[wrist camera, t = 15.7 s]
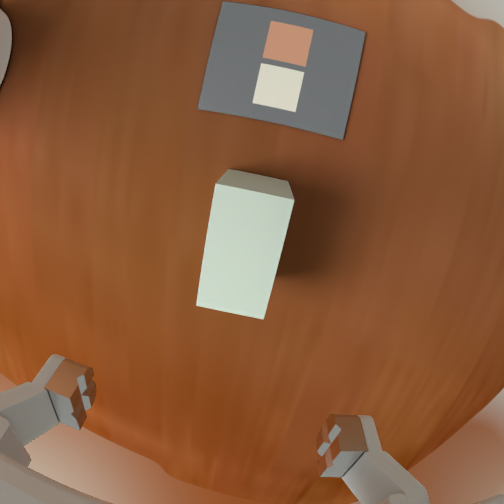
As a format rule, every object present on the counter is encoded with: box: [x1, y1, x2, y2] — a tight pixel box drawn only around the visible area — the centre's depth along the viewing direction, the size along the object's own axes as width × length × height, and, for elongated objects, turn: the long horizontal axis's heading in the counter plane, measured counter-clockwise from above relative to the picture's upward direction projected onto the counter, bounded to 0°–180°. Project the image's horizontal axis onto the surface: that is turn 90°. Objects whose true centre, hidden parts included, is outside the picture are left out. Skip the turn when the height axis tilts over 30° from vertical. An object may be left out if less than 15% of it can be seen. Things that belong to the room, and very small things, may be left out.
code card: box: [198, 1, 365, 140], centre depth 22 cm, size 12×10×1 cm
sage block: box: [196, 169, 294, 319], centre depth 25 cm, size 5×9×7 cm, turn 168°
